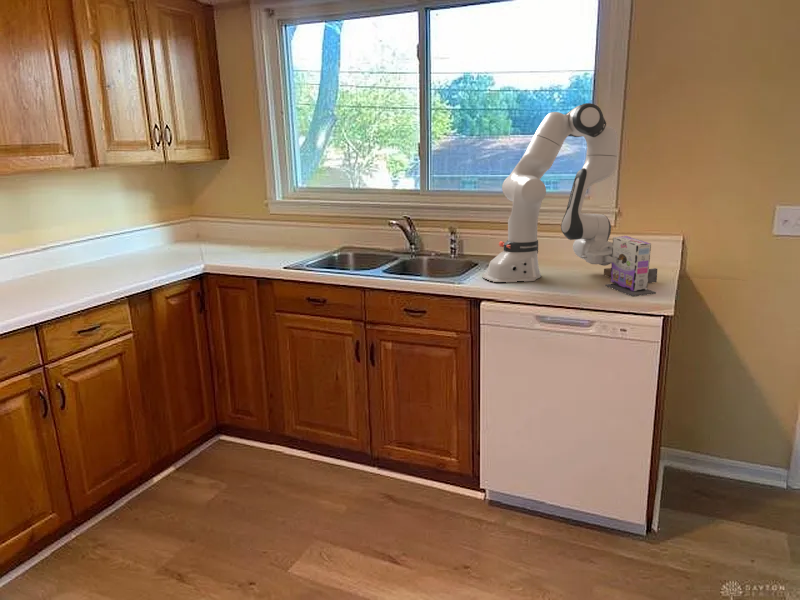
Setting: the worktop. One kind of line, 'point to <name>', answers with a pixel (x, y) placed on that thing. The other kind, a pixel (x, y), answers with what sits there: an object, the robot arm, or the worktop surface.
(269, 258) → the worktop surface
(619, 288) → the mat
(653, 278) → the holder
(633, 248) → the candy box
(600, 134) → the robot arm
